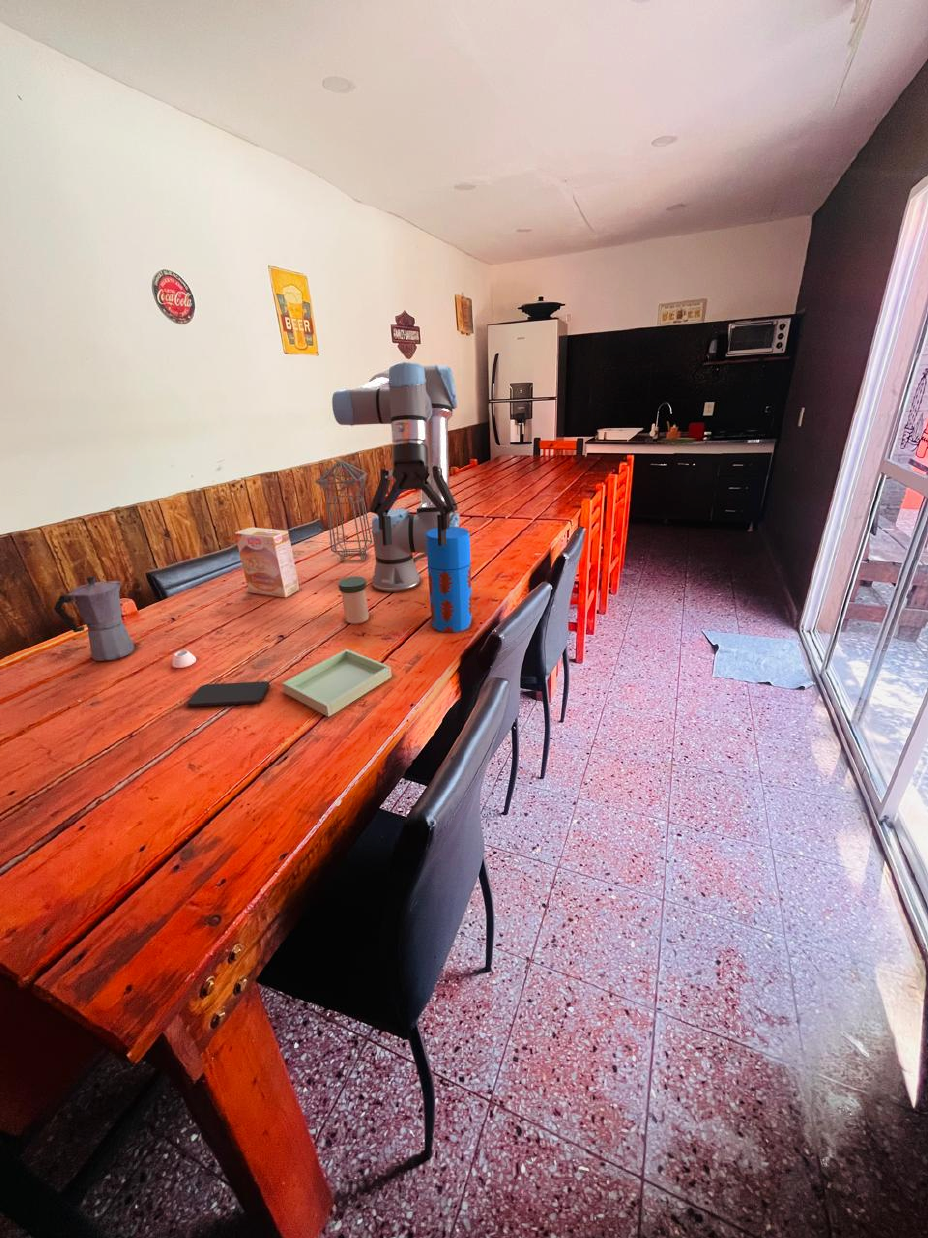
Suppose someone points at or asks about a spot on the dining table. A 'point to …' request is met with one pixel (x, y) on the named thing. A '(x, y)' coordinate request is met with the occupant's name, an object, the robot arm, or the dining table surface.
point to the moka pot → (99, 618)
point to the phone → (229, 694)
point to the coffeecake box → (267, 561)
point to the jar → (355, 606)
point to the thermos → (450, 579)
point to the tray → (337, 681)
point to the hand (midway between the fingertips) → (414, 545)
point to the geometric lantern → (323, 480)
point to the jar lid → (352, 584)
